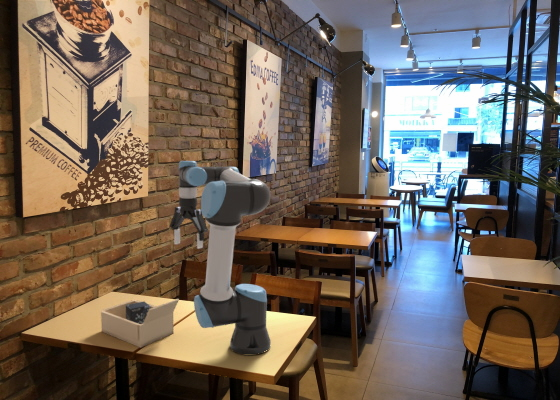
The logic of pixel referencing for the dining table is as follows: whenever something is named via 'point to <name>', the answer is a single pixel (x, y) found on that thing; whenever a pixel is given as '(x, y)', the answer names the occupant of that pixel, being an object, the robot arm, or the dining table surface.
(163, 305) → the flap
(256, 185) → the robot arm
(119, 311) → the carton
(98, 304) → the dining table surface
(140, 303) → the box
